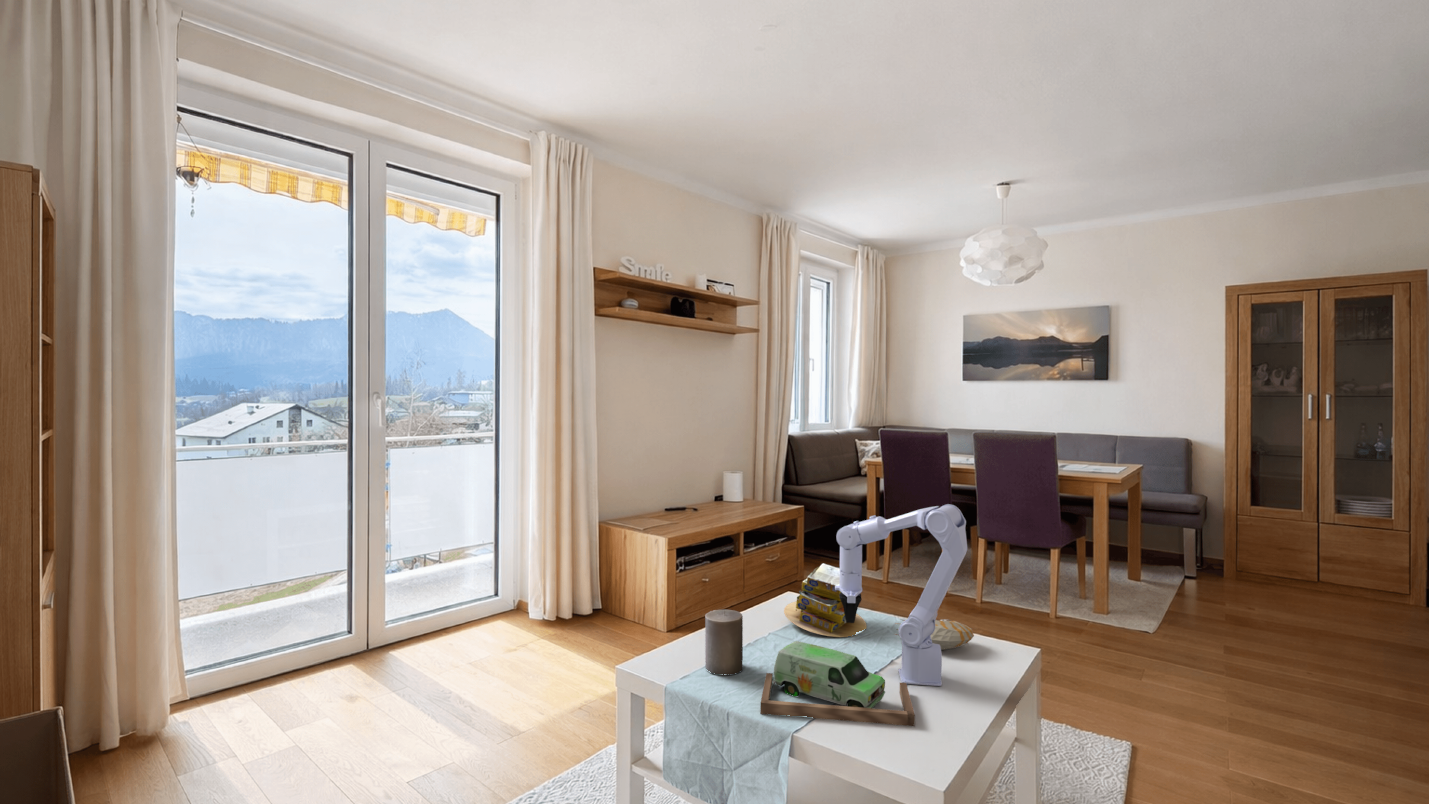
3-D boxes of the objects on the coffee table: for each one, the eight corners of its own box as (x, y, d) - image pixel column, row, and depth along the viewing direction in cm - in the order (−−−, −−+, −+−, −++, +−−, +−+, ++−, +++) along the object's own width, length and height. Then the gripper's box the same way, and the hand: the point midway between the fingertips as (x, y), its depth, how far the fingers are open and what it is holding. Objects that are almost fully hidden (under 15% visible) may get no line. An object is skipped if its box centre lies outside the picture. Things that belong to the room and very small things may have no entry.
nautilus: (885, 646, 196) (906, 633, 208) (962, 660, 183) (980, 646, 195) (884, 617, 196) (905, 606, 208) (962, 629, 183) (979, 617, 195)
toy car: (868, 721, 152) (869, 675, 152) (770, 690, 166) (771, 649, 166) (887, 703, 160) (888, 659, 160) (793, 675, 175) (793, 636, 175)
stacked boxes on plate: (881, 623, 213) (882, 569, 212) (836, 645, 195) (837, 585, 194) (815, 605, 230) (815, 554, 229) (767, 623, 212) (768, 569, 211)
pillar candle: (750, 667, 179) (750, 609, 179) (725, 679, 172) (725, 618, 172) (722, 658, 186) (722, 601, 185) (696, 669, 178) (696, 610, 178)
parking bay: (906, 693, 165) (906, 682, 165) (914, 726, 149) (914, 714, 149) (766, 683, 170) (766, 672, 170) (760, 713, 154) (760, 702, 154)
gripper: (834, 562, 191) (834, 612, 191) (835, 577, 176) (834, 630, 177) (861, 564, 190) (860, 613, 190) (864, 578, 175) (863, 632, 176)
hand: (850, 622), depth 183 cm, fingers closed
